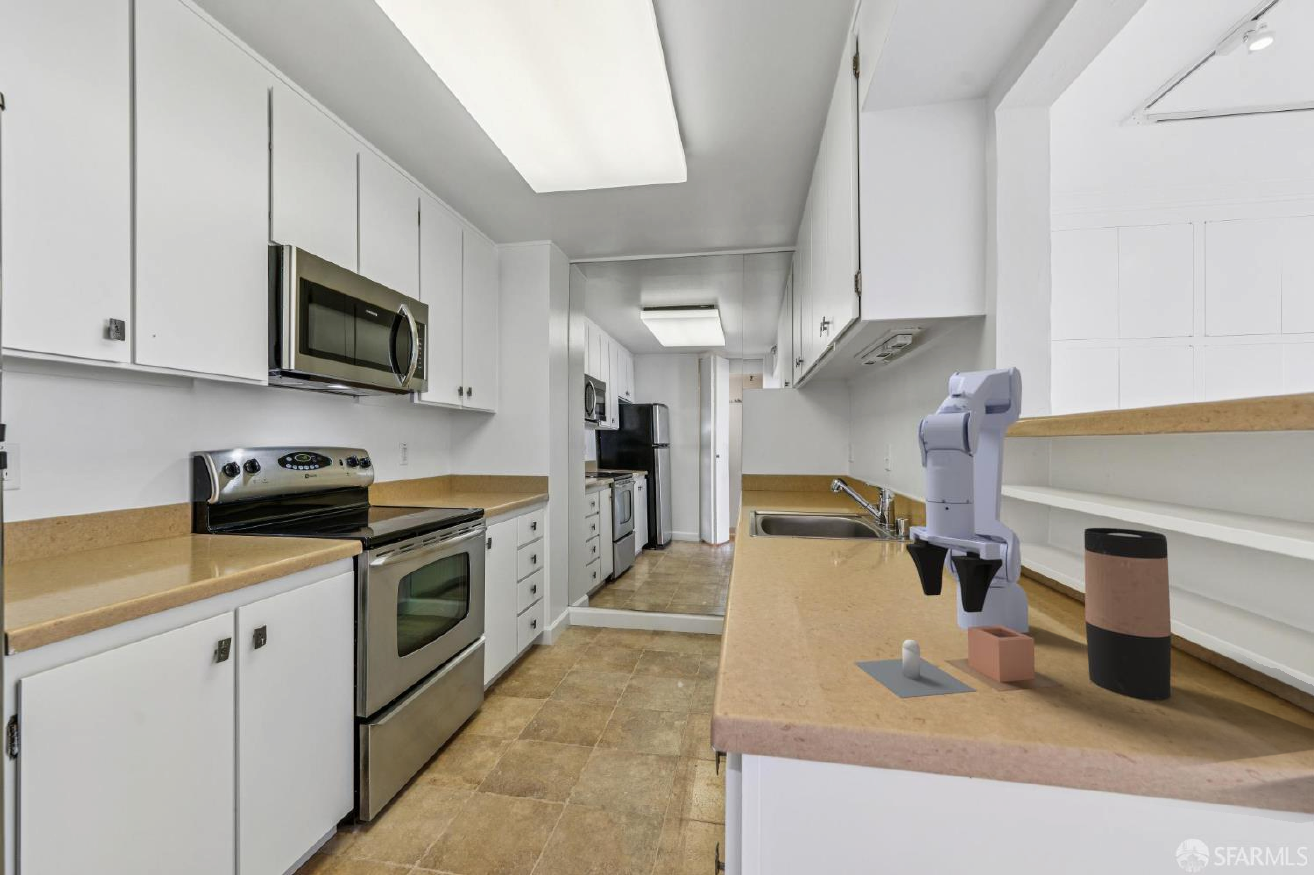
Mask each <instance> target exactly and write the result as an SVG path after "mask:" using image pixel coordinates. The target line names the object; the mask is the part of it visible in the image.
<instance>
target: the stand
mask: <svg viewBox="0 0 1314 875" xmlns="http://www.w3.org/2000/svg"><path fill="white" fill-rule="evenodd" d="M992 635H994V636H996V637H999V638H1002V637H1007V636H1005V635H1000V634H992ZM944 662H946V663H947V664H950V666H953V667H955V668H957V669H959V670H960V671H962V672H963V673H965V674H967V675H969V676H970V677H972V678H974V679H976V680H978V681H979V682H982V683H983V684H985V685H986V686H989V687H990V688H992V689H994V690H996V691H997V692H1005V691H1016V690H1017V691H1018V690H1027V689H1037V688H1038V689H1039V688H1049V687H1060V686H1064V684H1062V683H1060V682H1059V681H1056V680H1054V679H1052V678H1050V677H1047V676H1045V675H1044V674H1041V673H1039V672H1037V671H1035V679H1029V680H1018V681H1007V682H999V681H997V680H995V679H993V678H991V677H989V676H987V675H985V674H984V673H982V672H980V671H978V670H976V669H974V668H972V667H971V666H969V658H960V659H946V660H944Z"/></svg>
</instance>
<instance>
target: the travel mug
mask: <svg viewBox="0 0 1314 875" xmlns="http://www.w3.org/2000/svg"><path fill="white" fill-rule="evenodd" d="M1083 535H1084V590H1085V591H1084V594H1085V595H1084V599H1085V600H1084V602H1085V603H1084V604H1085V605H1084V606H1085V608H1084V609H1085V610H1084V611H1085V613H1084V614H1085V632H1086V647H1087V650H1086V651H1087V661H1088V663H1087V664H1088V678H1089V680H1090V681H1091V683H1093V684H1094V685H1096V686H1098V687H1100V688H1102V689H1103V690H1106V691H1108V692H1111V693H1115V694H1117V695H1121V696H1125V697H1129V698H1135V699H1138V700H1146V701H1165V700H1167V699H1170V697H1171V668H1172V666H1171V665H1172V663H1171V662H1172V661H1171V660H1172V659H1171V658H1172V657H1171V656H1172V652H1171V651H1172V636H1171V635H1172V627H1171V626H1172V624H1171V621H1172V620H1171V605H1170V602H1171V601H1170V600H1171V598H1170V579H1169V561H1168V560H1169V559H1168V558H1169V557H1168V556H1169V554H1168V541H1167V540H1168V539H1167V537H1166V535H1164V534H1163V533H1159V532H1155V531H1149V530H1148V531H1147V530H1140V529H1128V528H1118V527H1117V528H1116V527H1115V528H1114V527H1112V528H1111V527H1089V528H1088V527H1087V528H1085V529H1084V534H1083Z"/></svg>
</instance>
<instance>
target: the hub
mask: <svg viewBox="0 0 1314 875" xmlns="http://www.w3.org/2000/svg"><path fill="white" fill-rule="evenodd" d="M901 649H902V651H901V652H902V655H901V656H902V658H899V659H898V658H895V659H885V660H884V659H883V660H871V661H857V662H853V664H854V665H856V667H858V668H859V669H861V670H862V671H863V672H864V673H867V675H869V676H870V677H872V678H873V679H875V680H876V682H879V683H880V684H881V685H882V686H883V687H884V688H886V689H888V690H889V691H891V692H892V693H893V694H894V695H895V696H897V697H898V698H900V699H906V698H907V699H908V698H916V697H918V698H919V697H928V696H929V697H930V696H937V695H949V694H950V695H951V694H960V693H970V692H972V693H973V692H977V691H978V690H977V689H975V688H973V687H972V686H970V685H968V684H966V683H965V682H963V681H962V680H959V679H958V678H956V677H954V676H953V675H951V674H950V673H948V672H946V671H945V670H943V669H942V668H941V669H940V668H939V667H937V666H936V665H934V664H932V663H930V662H929V661H927V660H925V659H924V658H922V657H921V648H920V645H919V643H918V642H917V640H916V641H915V640H914V639H906V640H904V641H903V643H902V646H901Z"/></svg>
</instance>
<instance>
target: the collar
mask: <svg viewBox="0 0 1314 875" xmlns="http://www.w3.org/2000/svg"><path fill="white" fill-rule="evenodd" d="M992 634H1000V635H1005V636H1007V637H1002V638H999V637H996V636H994V635H992ZM967 639H968V640H967V647H968V648H967V649H968V650H967V651H968V652H967V653H968V659H969V666H971V667H972V668H974V669H976V670H978V671H980V672H982V673H984V674H985V675H987V676H989V677H991V678H993V679H995V680H997V681H999V682H1007V681H1018V680H1029V679H1035V672H1036V671H1035V669H1036V668H1035V666H1036V665H1035V638H1034V637H1031V636H1029V635H1026V634H1024V633H1019V632H1016V631H1014V630H1011V629H1009V628H1006V627H1004V626H1001V625H997V626H982V627H968V631H967Z"/></svg>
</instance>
